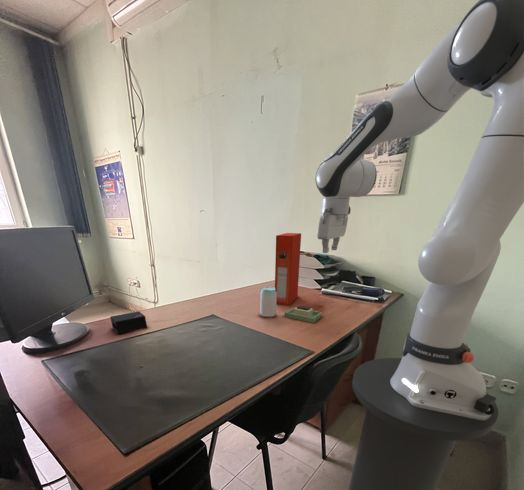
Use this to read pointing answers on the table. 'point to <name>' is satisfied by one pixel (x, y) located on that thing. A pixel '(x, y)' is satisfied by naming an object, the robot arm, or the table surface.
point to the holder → (311, 319)
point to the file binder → (287, 267)
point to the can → (268, 302)
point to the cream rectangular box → (303, 311)
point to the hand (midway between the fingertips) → (329, 251)
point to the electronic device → (128, 322)
